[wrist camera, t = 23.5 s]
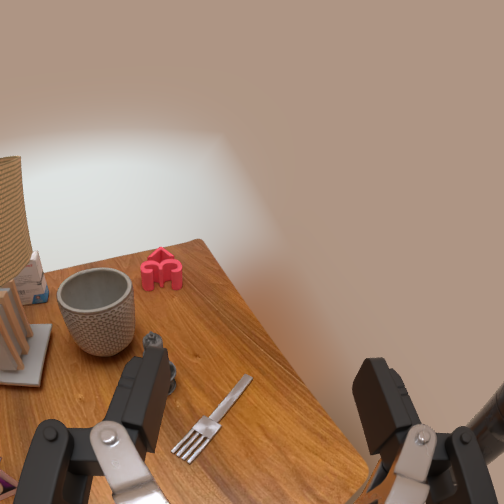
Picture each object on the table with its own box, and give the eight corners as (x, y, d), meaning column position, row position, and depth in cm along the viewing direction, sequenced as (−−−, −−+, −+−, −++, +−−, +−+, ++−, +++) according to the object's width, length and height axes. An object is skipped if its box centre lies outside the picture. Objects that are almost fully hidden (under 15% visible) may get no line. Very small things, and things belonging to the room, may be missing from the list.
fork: (240, 374, 45) (240, 371, 45) (257, 381, 44) (257, 379, 44) (171, 452, 30) (170, 450, 30) (190, 464, 29) (189, 463, 28)
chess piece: (136, 381, 40) (122, 328, 35) (163, 366, 45) (155, 313, 40) (157, 404, 37) (145, 352, 32) (185, 386, 41) (180, 333, 36)
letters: (144, 263, 76) (143, 247, 74) (179, 262, 79) (179, 246, 77) (141, 291, 64) (139, 273, 62) (183, 289, 67) (182, 271, 65)
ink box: (49, 292, 57) (39, 249, 52) (47, 303, 53) (35, 259, 48) (22, 295, 53) (10, 253, 48) (18, 306, 49) (4, 263, 44)
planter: (147, 324, 54) (140, 268, 48) (134, 375, 41) (120, 317, 36) (87, 318, 52) (74, 265, 46) (65, 364, 39) (42, 307, 34)
